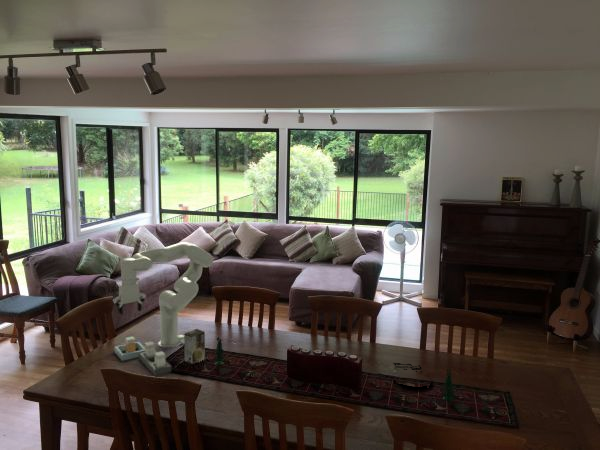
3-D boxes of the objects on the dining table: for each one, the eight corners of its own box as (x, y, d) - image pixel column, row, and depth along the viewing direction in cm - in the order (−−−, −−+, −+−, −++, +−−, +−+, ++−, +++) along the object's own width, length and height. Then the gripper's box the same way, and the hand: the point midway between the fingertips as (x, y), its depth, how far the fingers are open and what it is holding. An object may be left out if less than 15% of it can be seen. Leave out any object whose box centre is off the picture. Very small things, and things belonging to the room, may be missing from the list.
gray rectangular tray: (154, 356, 271) (154, 349, 270) (171, 373, 252) (171, 366, 251) (139, 360, 266) (139, 353, 265) (154, 377, 247) (154, 369, 247)
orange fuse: (133, 352, 275) (132, 336, 273) (135, 354, 271) (135, 338, 270) (125, 353, 272) (125, 337, 271) (128, 356, 269) (127, 340, 268)
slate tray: (138, 348, 281) (138, 341, 280) (146, 356, 270) (146, 349, 270) (114, 353, 273) (114, 346, 273) (121, 362, 263) (121, 355, 262)
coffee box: (196, 356, 273) (196, 328, 270) (205, 360, 269) (205, 331, 266) (184, 362, 265) (183, 333, 263) (192, 365, 262) (192, 336, 259)
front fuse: (162, 368, 256) (162, 351, 254) (165, 371, 252) (165, 354, 251) (154, 369, 253) (154, 353, 252) (157, 372, 250) (157, 355, 249)
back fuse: (152, 357, 268) (152, 341, 266) (154, 360, 264) (154, 343, 263) (144, 359, 265) (144, 342, 264) (147, 361, 262) (147, 345, 261)
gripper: (142, 277, 273) (143, 307, 276) (110, 282, 263) (111, 313, 266) (147, 280, 267) (148, 311, 270) (114, 285, 257) (115, 317, 260)
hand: (130, 312), depth 268 cm, fingers open, 9 cm apart
